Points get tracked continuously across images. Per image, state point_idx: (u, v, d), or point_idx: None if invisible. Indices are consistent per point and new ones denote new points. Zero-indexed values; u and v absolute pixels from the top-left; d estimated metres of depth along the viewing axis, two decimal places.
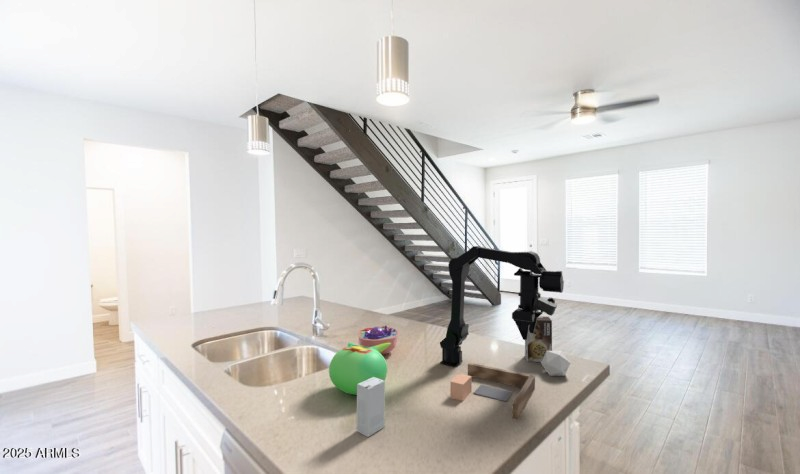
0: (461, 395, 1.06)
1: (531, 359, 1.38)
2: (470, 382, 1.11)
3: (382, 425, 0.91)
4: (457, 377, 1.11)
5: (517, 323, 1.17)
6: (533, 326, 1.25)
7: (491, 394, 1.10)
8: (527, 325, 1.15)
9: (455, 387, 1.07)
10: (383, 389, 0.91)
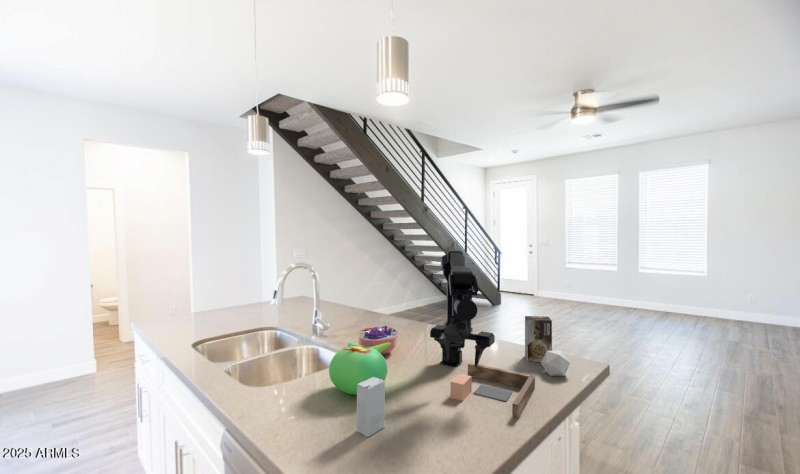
0: (461, 395, 1.06)
1: (531, 359, 1.38)
2: (470, 381, 1.11)
3: (382, 425, 0.91)
4: (457, 377, 1.11)
5: None
6: None
7: (491, 394, 1.10)
8: None
9: (455, 387, 1.07)
10: (383, 389, 0.91)
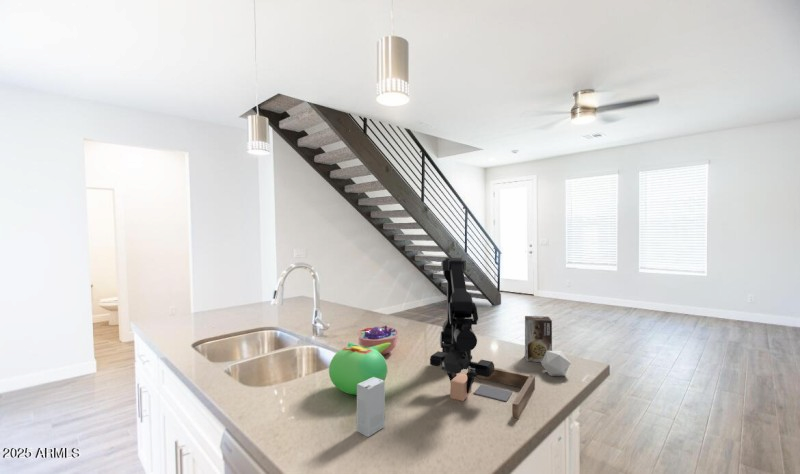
0: (461, 395, 1.06)
1: (531, 359, 1.38)
2: None
3: (382, 425, 0.91)
4: (457, 377, 1.11)
5: None
6: None
7: (491, 394, 1.10)
8: None
9: (455, 387, 1.07)
10: (383, 389, 0.91)
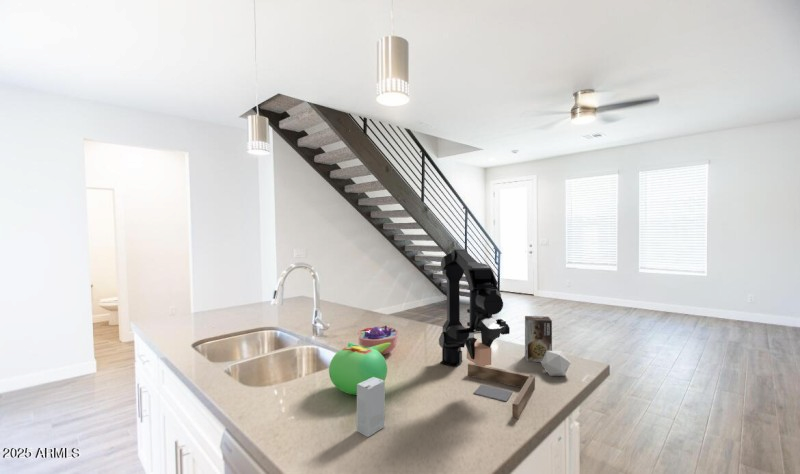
0: (489, 359, 1.08)
1: (531, 359, 1.38)
2: None
3: (382, 425, 0.91)
4: None
5: (464, 340, 1.11)
6: None
7: (491, 394, 1.10)
8: (470, 343, 1.08)
9: (484, 353, 1.07)
10: (383, 389, 0.91)
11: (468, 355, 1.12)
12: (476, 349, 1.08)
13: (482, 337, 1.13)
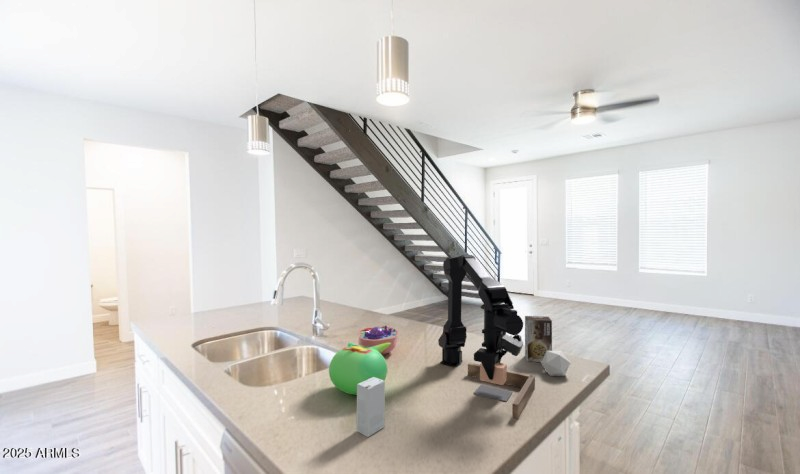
0: (506, 375, 1.10)
1: (531, 359, 1.38)
2: None
3: (382, 425, 0.91)
4: None
5: (482, 362, 1.09)
6: None
7: (491, 394, 1.10)
8: (493, 364, 1.07)
9: (504, 371, 1.09)
10: (383, 389, 0.91)
11: (482, 376, 1.11)
12: (497, 369, 1.08)
13: None
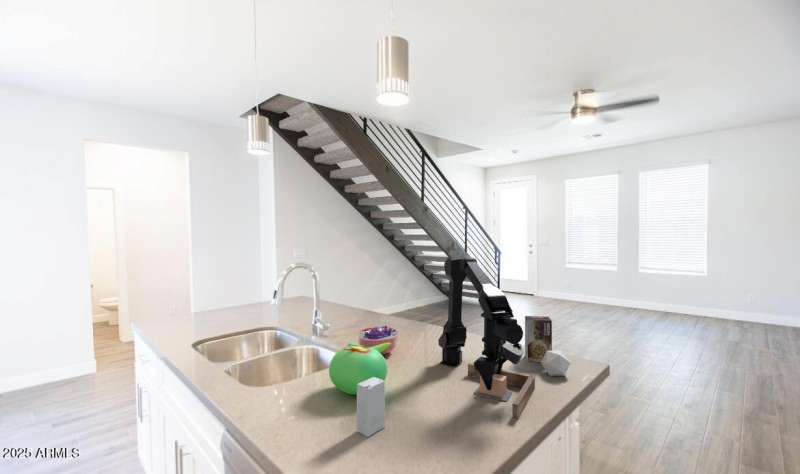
0: (505, 387, 1.10)
1: (531, 359, 1.38)
2: None
3: (382, 425, 0.91)
4: None
5: (480, 372, 1.07)
6: (498, 373, 1.14)
7: None
8: (491, 375, 1.05)
9: (504, 383, 1.09)
10: (383, 389, 0.91)
11: (482, 388, 1.11)
12: (496, 381, 1.08)
13: None
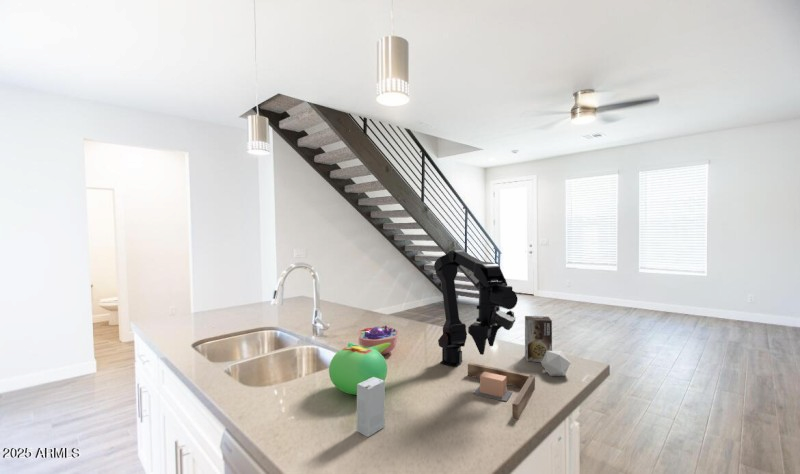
0: (505, 387, 1.10)
1: (531, 359, 1.38)
2: None
3: (382, 425, 0.91)
4: (490, 377, 1.10)
5: (474, 337, 1.13)
6: (492, 339, 1.21)
7: None
8: (483, 340, 1.12)
9: (504, 383, 1.09)
10: (383, 389, 0.91)
11: (482, 388, 1.11)
12: (496, 381, 1.08)
13: None
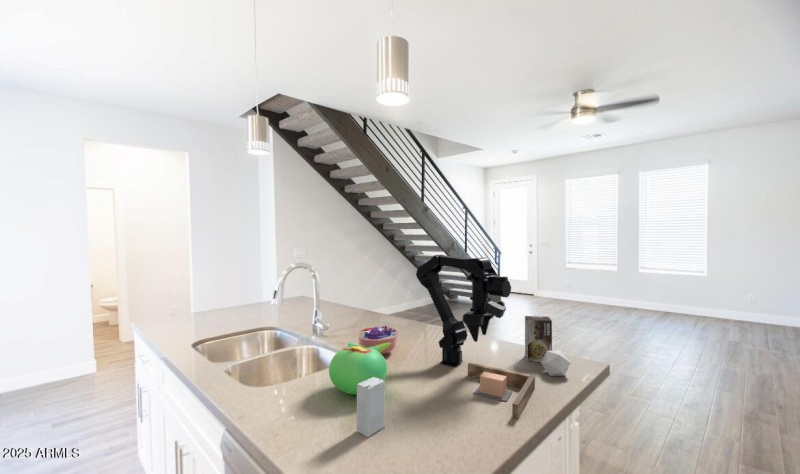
0: (505, 387, 1.10)
1: (531, 359, 1.38)
2: None
3: (382, 425, 0.91)
4: (490, 377, 1.10)
5: (468, 326, 1.23)
6: (485, 328, 1.31)
7: None
8: (477, 327, 1.21)
9: (504, 383, 1.09)
10: (383, 389, 0.91)
11: (482, 388, 1.11)
12: (496, 381, 1.08)
13: None
